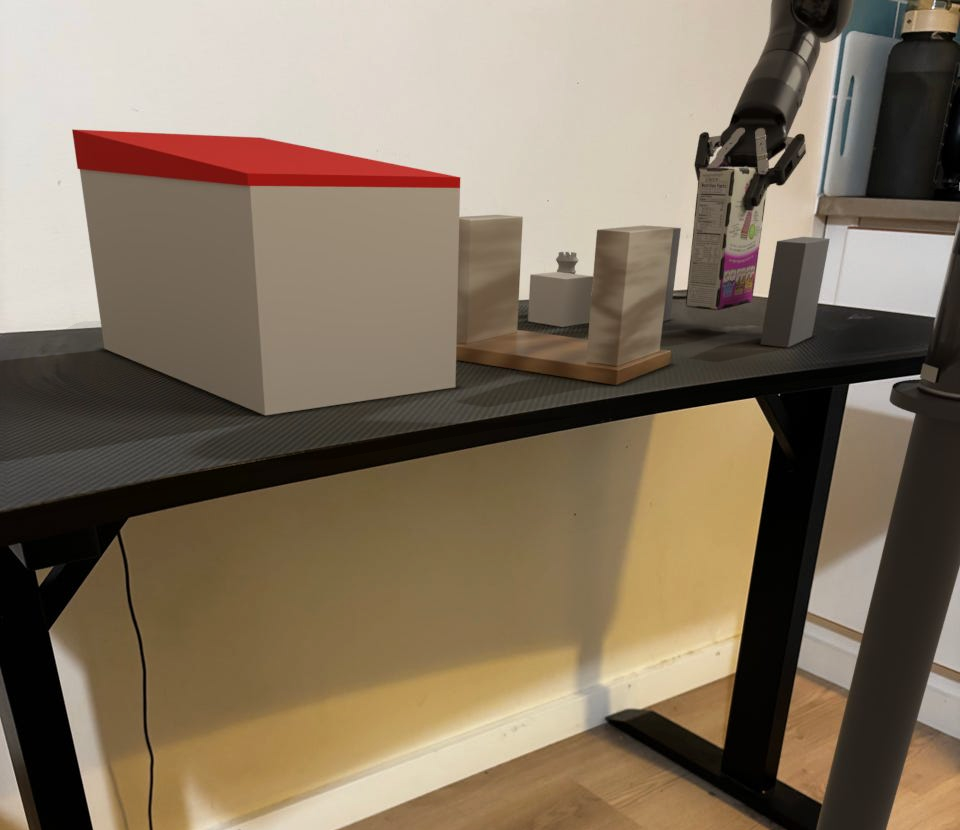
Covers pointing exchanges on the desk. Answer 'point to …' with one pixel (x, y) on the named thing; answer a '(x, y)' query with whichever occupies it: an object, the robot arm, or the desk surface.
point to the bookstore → (272, 267)
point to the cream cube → (560, 298)
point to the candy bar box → (724, 239)
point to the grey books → (780, 288)
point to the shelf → (613, 316)
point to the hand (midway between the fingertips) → (726, 204)
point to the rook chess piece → (567, 262)
